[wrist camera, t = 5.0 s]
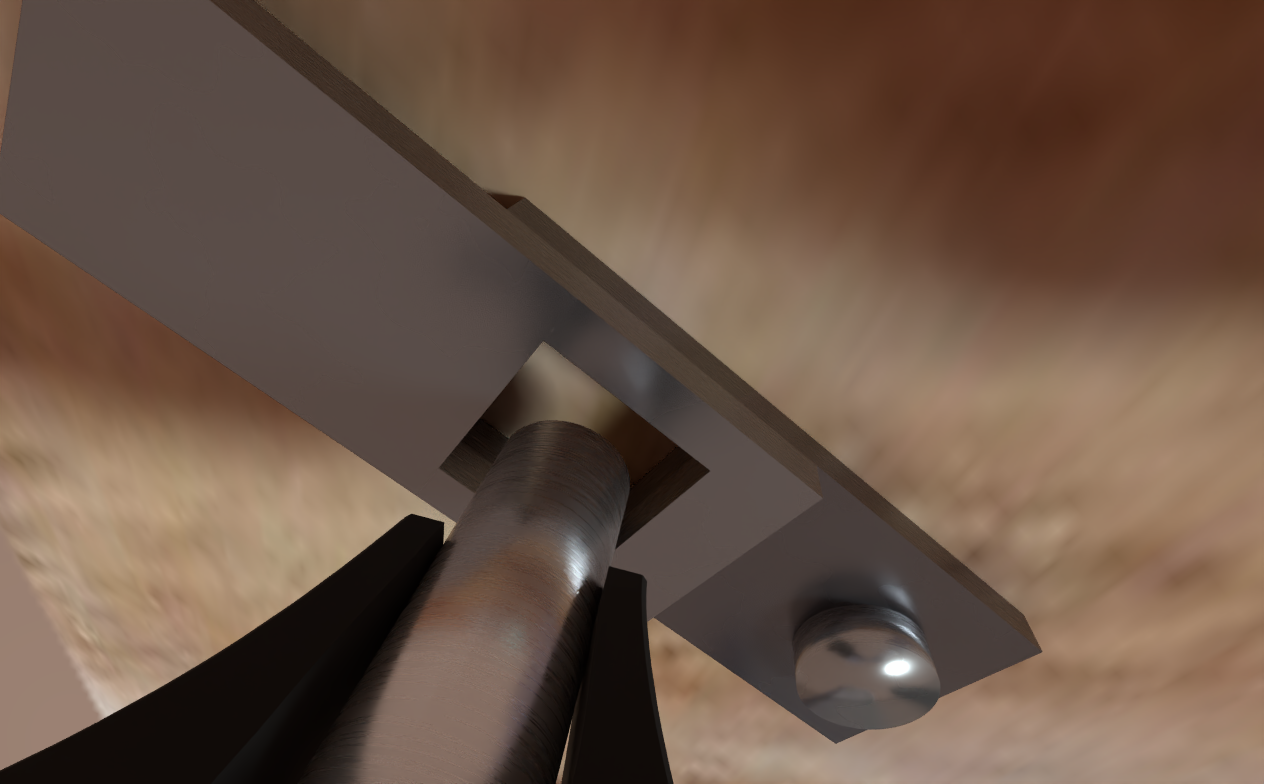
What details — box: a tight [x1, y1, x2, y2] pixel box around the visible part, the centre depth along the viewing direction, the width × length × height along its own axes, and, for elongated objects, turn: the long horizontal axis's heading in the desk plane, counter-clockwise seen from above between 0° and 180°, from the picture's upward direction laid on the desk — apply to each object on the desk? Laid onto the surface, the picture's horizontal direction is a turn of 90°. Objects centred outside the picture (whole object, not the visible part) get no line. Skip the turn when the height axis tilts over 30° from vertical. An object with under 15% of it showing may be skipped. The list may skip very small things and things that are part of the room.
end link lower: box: [460, 198, 1042, 744], centre depth 15 cm, size 18×7×2 cm, turn 51°
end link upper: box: [0, 0, 823, 622], centre depth 14 cm, size 18×7×2 cm, turn 51°
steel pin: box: [297, 420, 630, 784], centre depth 10 cm, size 3×3×8 cm
